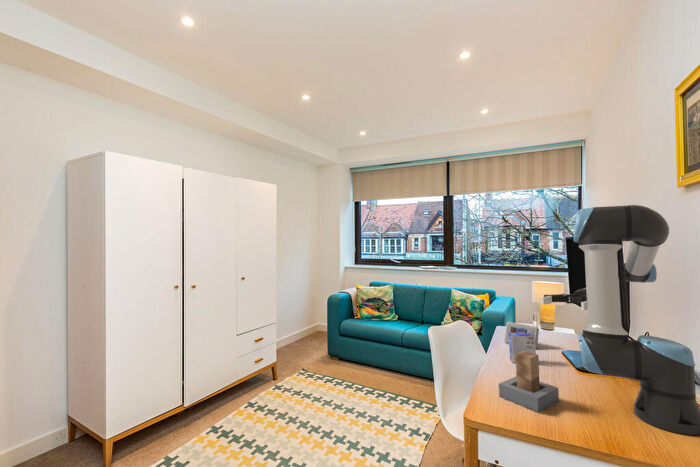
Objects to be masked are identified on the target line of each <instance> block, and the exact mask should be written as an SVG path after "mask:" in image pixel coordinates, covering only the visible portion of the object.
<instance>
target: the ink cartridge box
mask: <svg viewBox="0 0 700 467" xmlns="http://www.w3.org/2000/svg"><path fill="white" fill-rule="evenodd" d="M520 329H521V330H524V331H518V330H520ZM508 344H509V346H508V348H509V360H510V362H511V363H512V364H516V353H519V352H522V351H526V352H530V353H534V354H537V351H536V350H537V349H535V336H534V335H533V334H532V333H526V332H525V328H516V333H509V343H508Z"/></svg>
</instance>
